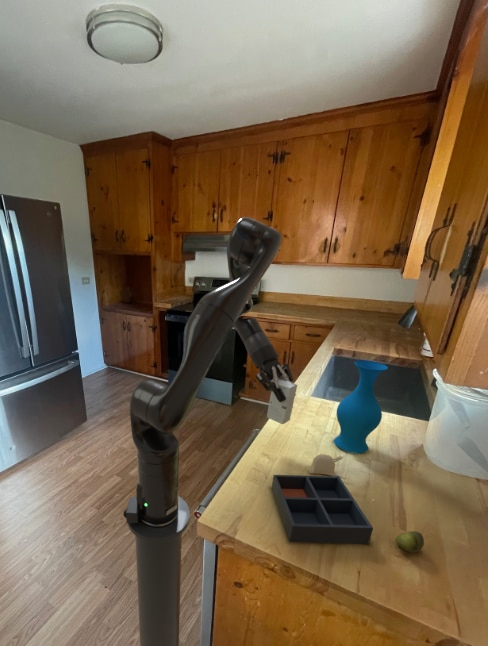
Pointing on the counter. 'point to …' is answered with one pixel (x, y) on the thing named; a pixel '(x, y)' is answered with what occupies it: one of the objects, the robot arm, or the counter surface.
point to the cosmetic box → (282, 409)
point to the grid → (319, 510)
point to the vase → (359, 410)
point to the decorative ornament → (324, 464)
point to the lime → (411, 541)
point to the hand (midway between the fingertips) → (288, 398)
